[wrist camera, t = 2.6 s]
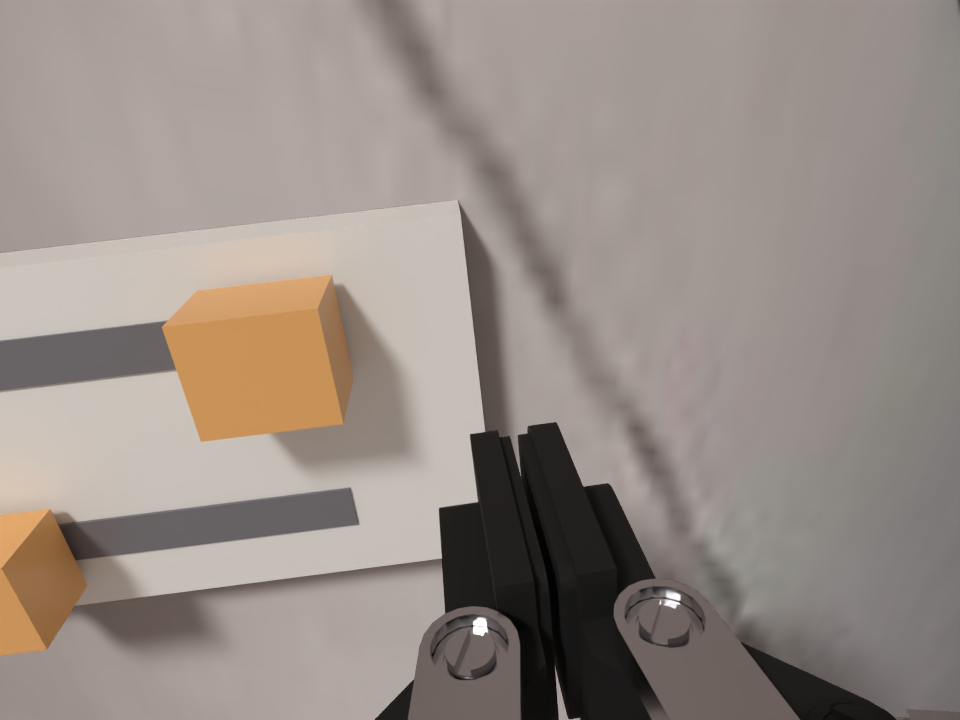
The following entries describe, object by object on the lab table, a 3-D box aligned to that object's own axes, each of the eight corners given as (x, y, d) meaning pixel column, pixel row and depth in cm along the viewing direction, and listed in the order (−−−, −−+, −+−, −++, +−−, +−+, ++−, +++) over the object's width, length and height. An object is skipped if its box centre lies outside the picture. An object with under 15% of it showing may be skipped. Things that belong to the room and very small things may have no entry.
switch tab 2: (331, 274, 19) (317, 308, 17) (353, 378, 21) (343, 424, 18) (196, 290, 19) (161, 327, 17) (228, 394, 21) (201, 441, 18)
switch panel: (457, 199, 21) (460, 215, 19) (493, 517, 27) (498, 554, 25) (-366, 295, 20) (-450, 321, 18) (-149, 599, 26) (-195, 644, 24)
